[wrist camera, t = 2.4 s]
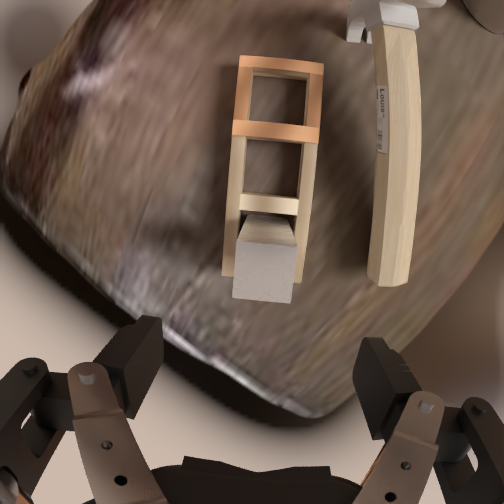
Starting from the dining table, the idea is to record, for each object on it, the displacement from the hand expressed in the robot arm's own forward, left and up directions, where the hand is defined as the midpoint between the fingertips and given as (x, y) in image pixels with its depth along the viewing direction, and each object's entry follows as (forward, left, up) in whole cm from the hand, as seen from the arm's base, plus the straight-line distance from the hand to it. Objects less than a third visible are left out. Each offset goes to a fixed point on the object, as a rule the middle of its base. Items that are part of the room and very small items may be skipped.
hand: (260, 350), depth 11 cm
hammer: (-11, -12, -21) cm, 27 cm away
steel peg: (0, 0, -21) cm, 21 cm away
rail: (0, -7, -21) cm, 22 cm away
